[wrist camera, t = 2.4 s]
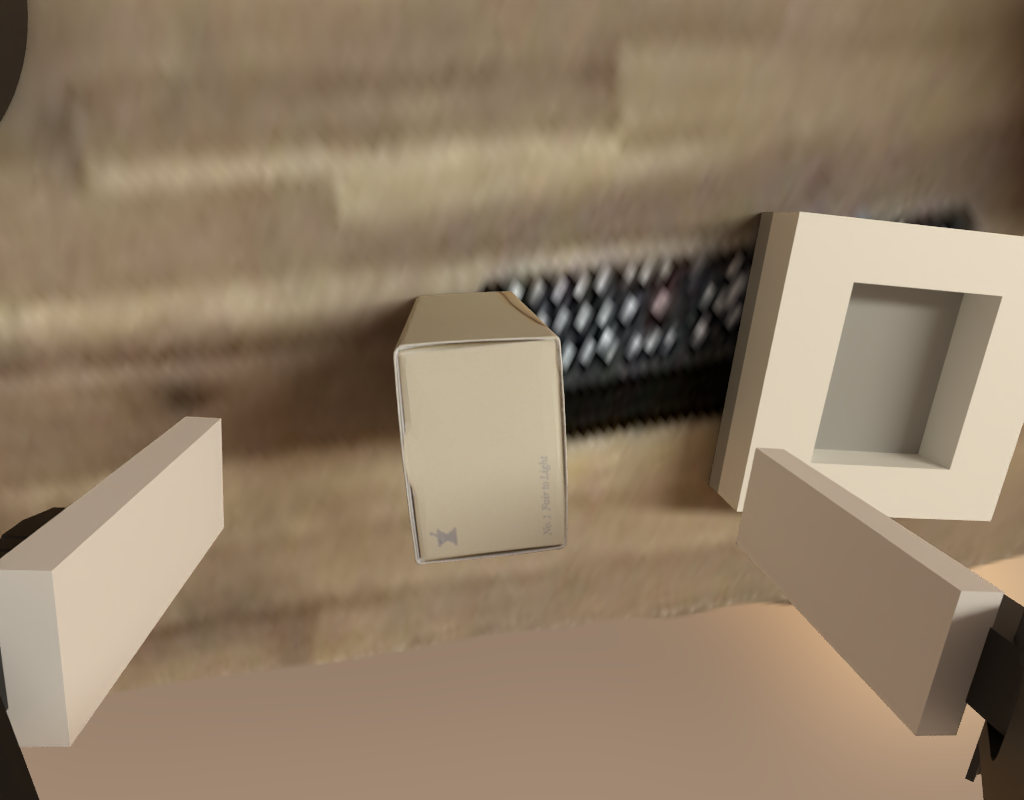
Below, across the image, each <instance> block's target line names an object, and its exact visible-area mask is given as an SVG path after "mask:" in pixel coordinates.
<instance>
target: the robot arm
mask: <svg viewBox="0 0 1024 800" xmlns="http://www.w3.org/2000/svg"><path fill="white" fill-rule="evenodd" d="M27 22H28V12H27V0H0V121H1V119H2V117H3V115H4V114H5V112H6V110H7V108H8V106H9V104H10V102H11V100H12V97H13V95H14V93H15V90H16V87H17V84H18V81H19V78H20V74H21V70H22V67H23V62H24V56H25V50H26V41H27ZM223 528H224V510H223V471H222V432H221V418H205V417H187V416H186V417H184V418H183V419H182V420H181V421H179V422H178V423H177V424H175V425H174V426H173V427H171V428H170V429H169V430H168V431H166V432H165V433H164V434H162V435H161V436H160V437H158V438H157V439H156V440H154V441H153V442H152V443H151V444H149V445H148V446H147V447H145V448H144V449H143V450H141V451H140V452H139V453H138V454H136V455H135V456H134V457H132V458H131V459H130V460H128V461H127V462H126V463H124V464H123V465H122V466H121V467H119V468H118V469H117V470H115V471H114V472H113V473H111V474H110V475H109V476H107V477H106V478H105V479H104V480H102V481H101V482H100V483H98V484H97V485H96V486H94V487H93V488H92V489H91V490H89V491H88V492H87V493H85V494H84V495H83V496H81V497H80V498H79V499H77V500H76V501H75V502H74V503H72V504H71V505H70V506H68V507H67V508H52V509H49V510H47V511H44V512H42V513H39V514H37V515H34V516H32V517H30V518H27V519H25V520H23V521H21V522H20V523H18V524H17V525H16V526H14V527H13V528H11V529H10V530H9V531H7V532H6V533H4V534H3V535H2V537H1V539H0V800H39V798H38V795H37V792H36V790H35V787H34V784H33V782H32V779H31V776H30V773H29V771H28V768H27V765H26V763H25V760H24V757H23V755H22V752H21V749H20V747H66V746H67V747H68V746H69V747H70V746H71V745H72V743H73V742H74V741H75V739H76V738H77V736H78V735H79V733H80V732H81V731H82V729H83V728H84V726H85V725H86V723H87V722H88V721H89V719H90V718H91V716H92V715H93V713H94V712H95V710H96V709H97V707H98V706H99V705H100V703H101V702H102V701H103V699H104V698H105V696H106V695H107V693H108V692H109V691H110V689H111V688H112V686H113V685H114V683H115V682H116V681H117V679H118V678H119V676H120V675H121V674H122V672H123V671H124V669H125V668H126V666H127V665H128V664H129V662H130V661H131V659H132V658H133V656H134V655H135V654H136V652H137V651H138V649H139V648H140V646H141V645H142V644H143V642H144V641H145V639H146V638H147V636H148V635H149V634H150V632H151V631H152V629H153V628H154V626H155V625H156V624H157V622H158V621H159V619H160V618H161V616H162V615H163V614H164V612H165V611H166V609H167V608H168V607H169V605H170V604H171V602H172V601H173V599H174V598H175V597H176V595H177V594H178V592H179V591H180V589H181V588H182V587H183V585H184V584H185V582H186V581H187V579H188V578H189V577H190V575H191V574H192V572H193V571H194V569H195V568H196V567H197V565H198V564H199V562H200V561H201V559H202V558H203V557H204V555H205V554H206V552H207V551H208V549H209V548H210V547H211V545H212V544H213V542H214V541H215V539H216V538H217V537H218V535H219V534H220V532H221V531H222V530H223ZM736 545H737V546H738V547H739V548H740V549H741V550H742V551H743V552H744V553H745V554H746V555H747V556H748V557H749V558H750V560H751V561H752V562H753V563H754V564H755V565H756V566H757V567H758V568H759V569H760V570H761V571H762V572H763V573H764V574H765V576H766V577H767V578H768V579H769V580H770V581H771V582H772V583H773V584H774V585H775V586H776V587H777V588H778V589H779V590H780V592H781V593H782V594H783V595H784V596H785V597H786V598H787V599H788V600H789V601H790V602H791V603H792V604H793V605H794V606H795V608H796V609H797V610H798V611H799V612H800V613H801V614H802V615H803V616H804V617H805V618H806V619H807V620H808V621H809V622H810V624H811V625H812V626H813V627H814V628H815V629H816V630H817V631H818V632H819V633H820V634H821V635H822V636H823V637H824V639H825V640H826V641H827V642H828V643H829V644H830V645H831V646H832V647H833V648H834V649H835V650H836V651H837V652H838V653H839V655H840V656H841V657H842V658H843V659H844V660H845V661H846V662H847V663H848V664H849V665H850V666H851V667H852V668H853V669H854V671H855V672H856V673H857V674H858V675H859V676H860V677H861V678H862V679H863V680H864V681H865V682H866V683H867V684H868V686H869V687H871V689H872V690H873V691H874V692H875V693H876V694H877V695H878V696H879V697H880V698H881V699H882V700H883V702H884V703H885V704H886V705H887V706H888V707H889V708H890V709H891V710H892V711H893V712H894V713H895V714H896V715H897V716H898V718H899V719H900V720H901V721H902V722H903V723H904V724H905V725H906V726H907V727H908V728H909V729H910V730H911V731H912V732H913V734H914V735H916V736H928V735H929V736H931V735H933V736H934V735H935V736H936V735H956V734H957V731H958V728H959V725H960V722H961V719H962V716H963V713H964V710H965V707H966V704H968V705H970V706H971V707H972V708H973V709H974V710H975V711H976V712H977V713H979V714H980V715H981V716H982V717H983V718H984V719H985V723H984V726H983V729H982V732H981V735H980V738H979V740H978V743H977V746H976V749H975V752H974V755H973V758H972V761H971V763H970V767H969V769H968V772H967V775H966V779H968V780H970V781H972V782H973V781H974V779H975V777H976V775H978V774H981V775H982V787H983V798H984V800H1024V607H1023V606H1021V605H1020V604H1018V603H1017V602H1015V601H1014V600H1012V599H1011V598H1009V597H1008V596H1006V595H1004V592H1003V591H1002V590H1000V589H999V588H997V587H996V586H994V585H993V584H991V583H989V582H988V581H986V580H985V579H983V578H982V577H980V576H979V575H977V574H975V573H974V572H972V571H971V570H969V569H968V568H966V567H965V566H963V565H962V564H960V563H959V562H957V561H955V560H954V559H952V558H951V557H949V556H948V555H946V554H945V553H943V552H942V551H940V550H939V549H937V548H935V547H934V546H932V545H931V544H929V543H928V542H926V541H925V540H923V539H922V538H920V537H918V536H917V535H915V534H914V533H912V532H911V531H909V530H908V529H906V528H905V527H903V526H901V525H900V524H898V523H897V522H895V521H894V520H892V519H891V518H889V517H888V516H886V515H884V514H883V513H881V512H880V511H878V510H877V509H875V508H874V507H872V506H871V505H869V504H868V503H866V502H864V501H863V500H861V499H860V498H858V497H857V496H855V495H854V494H852V493H851V492H849V491H847V490H846V489H844V488H843V487H841V486H840V485H838V484H837V483H835V482H834V481H832V480H830V479H829V478H827V477H826V476H824V475H823V474H821V473H820V472H818V471H817V470H815V469H813V468H812V467H810V466H809V465H807V464H806V463H804V462H803V461H801V460H800V459H798V458H797V457H795V456H793V455H792V454H790V453H789V452H787V451H786V450H784V449H775V448H756V449H755V454H754V458H753V463H752V468H751V473H750V478H749V483H748V487H747V492H746V497H745V502H744V507H743V512H742V516H741V521H740V526H739V531H738V536H737V541H736Z"/></svg>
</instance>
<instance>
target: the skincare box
mask: <svg viewBox="0 0 1024 800" xmlns="http://www.w3.org/2000/svg"><path fill="white" fill-rule="evenodd" d="M393 361H394V373H395V386H396V398H397V409H398V421H399V432H400V443H401V453H402V462H403V470H404V477H405V485H406V495H407V502H408V510H409V517H410V524H411V532H412V539H413V545H414V554H415V561H416V563H417V564H418V565H421V564H429V563H442V562H452V561H462V560H474V559H483V558H491V557H500V556H512V555H520V554H527V553H535V552H542V551H549V550H558V549H562V548H564V547H565V546H566V545H567V529H568V485H567V450H566V426H565V405H564V388H563V369H562V357H561V344H560V339H559V337H558V336H556V335H555V334H554V333H553V332H552V331H551V330H550V329H549V328H548V327H547V326H546V325H545V324H544V323H543V322H542V321H541V320H540V319H539V318H538V317H537V316H536V315H535V314H534V313H533V312H531V310H529V309H528V307H526V306H525V305H524V304H523V303H522V302H521V301H520V300H519V299H518V298H517V297H516V296H515V295H514V294H513V293H512V292H510V291H503V292H474V293H456V294H439V295H426V296H419V297H417V299H416V300H415V303H414V305H413V308H412V310H411V312H410V315H409V317H408V319H407V322H406V324H405V326H404V329H403V331H402V333H401V336H400V338H399V340H398V343H397V345H396V347H395V349H394V352H393Z"/></svg>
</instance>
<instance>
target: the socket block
mask: <svg viewBox="0 0 1024 800" xmlns="http://www.w3.org/2000/svg"><path fill="white" fill-rule="evenodd" d="M1023 422H1024V237H1023V236H1014V235H1005V234H996V233H987V232H978V231H969V230H960V229H951V228H942V227H933V226H924V225H915V224H906V223H897V222H888V221H879V220H870V219H861V218H852V217H843V216H834V215H824V214H815V213H806V212H762V215H761V220H760V225H759V230H758V235H757V240H756V245H755V251H754V256H753V261H752V266H751V271H750V276H749V281H748V286H747V292H746V297H745V302H744V307H743V312H742V317H741V322H740V327H739V333H738V338H737V343H736V348H735V353H734V358H733V363H732V368H731V374H730V379H729V384H728V389H727V394H726V399H725V404H724V410H723V415H722V420H721V425H720V430H719V435H718V440H717V445H716V451H715V456H714V461H713V466H712V471H711V476H710V481H709V485H710V486H711V487H712V488H713V489H714V490H715V491H716V492H717V493H718V494H719V495H720V496H721V497H722V498H723V499H724V500H725V501H726V502H727V503H728V504H729V505H730V506H731V507H732V508H733V509H735V510H736V511H737V512H743V507H744V502H745V497H746V492H747V487H748V483H749V478H750V473H751V468H752V463H753V458H754V454H755V449H756V448H775V449H784V450H786V451H787V452H789V453H790V454H792V455H793V456H795V457H797V458H798V459H800V460H801V461H803V462H804V463H806V464H807V465H809V466H810V467H812V468H813V469H815V470H817V471H818V472H820V473H821V474H823V475H824V476H826V477H827V478H829V479H830V480H832V481H834V482H835V483H837V484H838V485H840V486H841V487H843V488H844V489H846V490H847V491H849V492H851V493H852V494H854V495H855V496H857V497H858V498H860V499H861V500H863V501H864V502H866V503H868V504H869V505H871V506H872V507H874V508H875V509H877V510H878V511H880V512H881V513H883V514H884V515H886V516H888V517H895V518H922V519H950V520H977V521H991V519H992V516H993V513H994V510H995V507H996V504H997V501H998V497H999V494H1000V491H1001V488H1002V485H1003V482H1004V479H1005V476H1006V473H1007V470H1008V467H1009V464H1010V461H1011V458H1012V455H1013V452H1014V449H1015V446H1016V443H1017V440H1018V437H1019V434H1020V431H1021V428H1022V425H1023Z"/></svg>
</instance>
